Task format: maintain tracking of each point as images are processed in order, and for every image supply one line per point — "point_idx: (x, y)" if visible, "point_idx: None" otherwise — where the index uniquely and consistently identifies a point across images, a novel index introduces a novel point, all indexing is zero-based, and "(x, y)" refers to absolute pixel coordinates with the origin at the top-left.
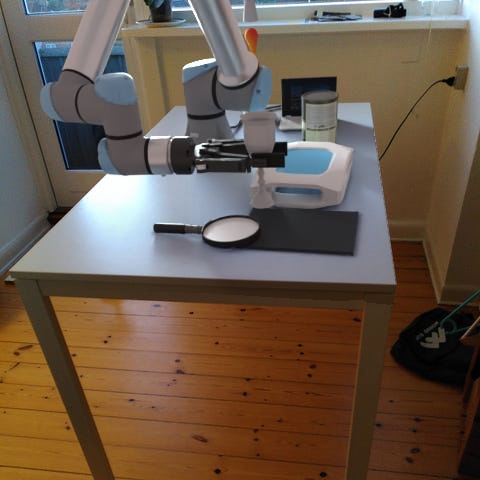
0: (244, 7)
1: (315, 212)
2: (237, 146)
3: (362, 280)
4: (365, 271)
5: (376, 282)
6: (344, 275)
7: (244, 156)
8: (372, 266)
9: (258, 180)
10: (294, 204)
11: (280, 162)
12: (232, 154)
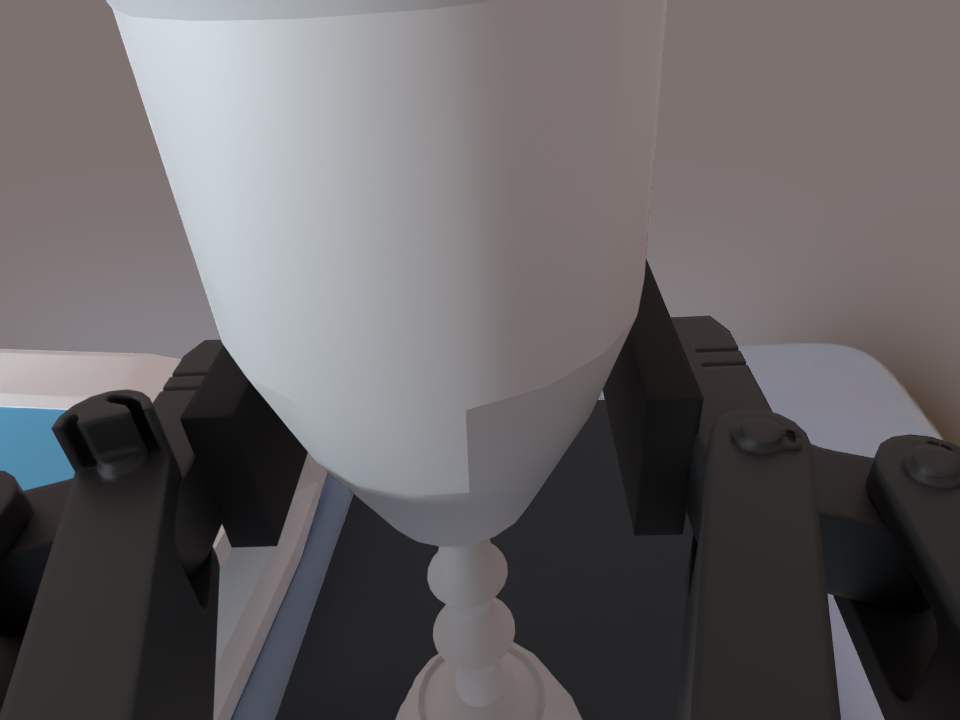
0: None
1: (372, 531)
2: (151, 692)
3: (890, 391)
4: (825, 386)
5: (879, 364)
6: (889, 432)
7: (782, 467)
8: (782, 372)
9: (480, 645)
10: (256, 632)
11: None
12: (751, 666)
